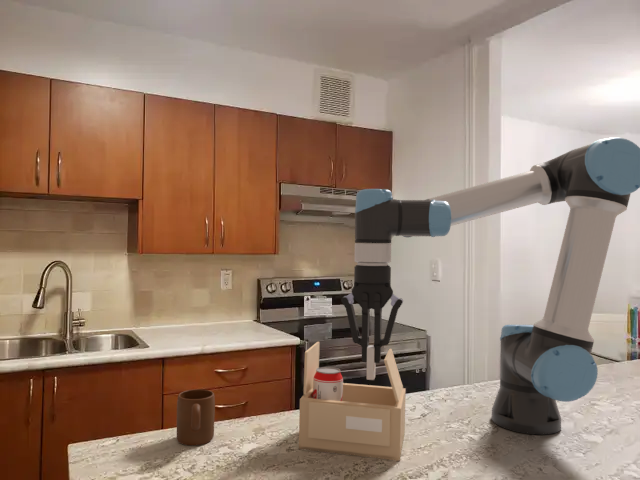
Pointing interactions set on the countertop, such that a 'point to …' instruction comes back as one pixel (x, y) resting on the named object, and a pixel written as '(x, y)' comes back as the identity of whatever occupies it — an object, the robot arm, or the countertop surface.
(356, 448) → the carton
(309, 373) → the flap far
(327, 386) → the beer can
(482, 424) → the countertop surface
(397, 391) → the flap near
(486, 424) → the countertop surface
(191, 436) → the mug
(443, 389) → the countertop surface
